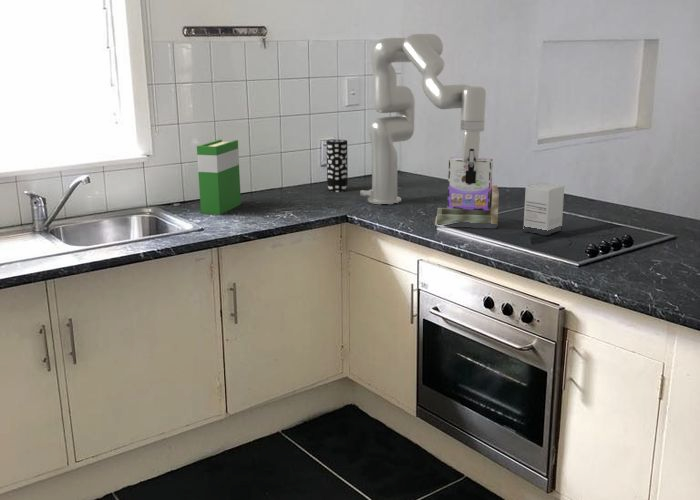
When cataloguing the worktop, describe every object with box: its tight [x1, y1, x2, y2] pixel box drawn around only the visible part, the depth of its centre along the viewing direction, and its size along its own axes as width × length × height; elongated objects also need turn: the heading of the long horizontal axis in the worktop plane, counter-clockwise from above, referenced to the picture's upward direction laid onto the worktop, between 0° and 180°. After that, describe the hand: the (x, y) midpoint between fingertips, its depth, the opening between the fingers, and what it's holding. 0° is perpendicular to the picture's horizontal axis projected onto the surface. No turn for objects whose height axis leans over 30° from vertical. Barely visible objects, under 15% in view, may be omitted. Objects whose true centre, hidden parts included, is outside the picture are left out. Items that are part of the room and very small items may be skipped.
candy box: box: [446, 156, 494, 211], centre depth 247 cm, size 14×6×16 cm, turn 73°
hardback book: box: [196, 139, 242, 216], centre depth 272 cm, size 18×7×24 cm, turn 163°
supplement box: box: [523, 182, 565, 231], centre depth 238 cm, size 9×9×15 cm
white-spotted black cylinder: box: [326, 139, 349, 193], centre depth 304 cm, size 8×8×20 cm
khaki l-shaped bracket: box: [434, 184, 500, 226], centre depth 249 cm, size 20×12×12 cm, turn 82°
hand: (470, 180), depth 247 cm, fingers closed on candy box, 6 cm apart
